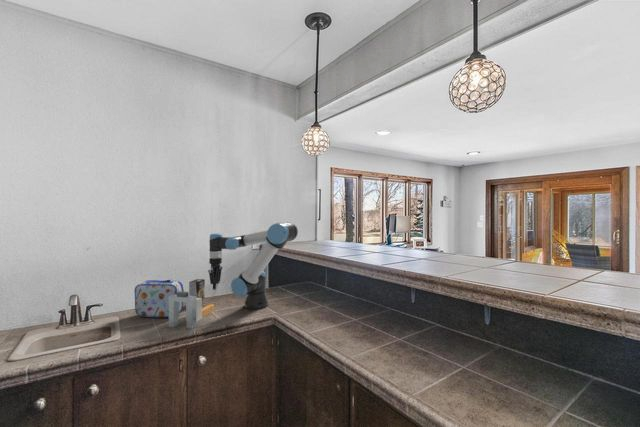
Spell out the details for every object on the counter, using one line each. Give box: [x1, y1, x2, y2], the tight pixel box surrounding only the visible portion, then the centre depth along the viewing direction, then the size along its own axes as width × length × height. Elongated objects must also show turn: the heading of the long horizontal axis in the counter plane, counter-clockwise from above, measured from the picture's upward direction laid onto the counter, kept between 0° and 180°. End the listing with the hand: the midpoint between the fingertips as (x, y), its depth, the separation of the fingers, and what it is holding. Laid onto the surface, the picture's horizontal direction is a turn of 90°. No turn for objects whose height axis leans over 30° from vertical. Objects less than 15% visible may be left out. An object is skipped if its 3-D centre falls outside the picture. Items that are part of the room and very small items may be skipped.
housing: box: [168, 291, 197, 330], centre depth 162 cm, size 14×4×18 cm, turn 78°
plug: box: [185, 298, 215, 323], centre depth 179 cm, size 21×6×12 cm, turn 168°
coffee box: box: [188, 278, 206, 305], centre depth 200 cm, size 9×6×16 cm
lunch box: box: [134, 279, 185, 319], centre depth 178 cm, size 28×10×22 cm, turn 89°
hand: (215, 293), depth 193 cm, fingers closed
